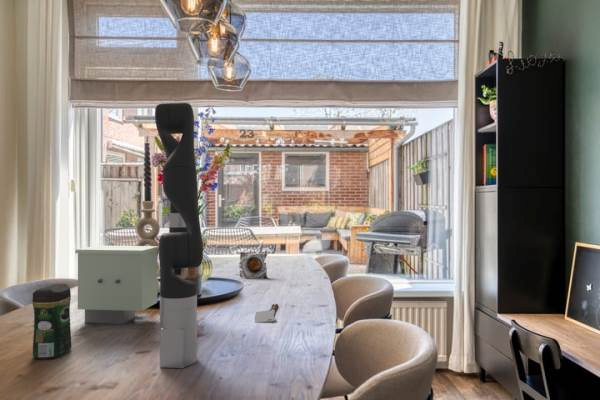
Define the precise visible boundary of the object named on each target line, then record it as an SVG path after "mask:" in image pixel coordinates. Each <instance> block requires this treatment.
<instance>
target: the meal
mask: <svg viewBox="0 0 600 400" xmlns="http://www.w3.org/2000/svg"><path fill="white" fill-rule="evenodd" d="M239 254H240V256H239V258H240V259H239V262H238V267H239V277H240V278H246V279H256V278H258V279H260V278H263V279H268V274H267V269H268V268H267V262H265V261H266V258H267V256H268V253H253V254H252V253H251V252H240V253H239Z"/></svg>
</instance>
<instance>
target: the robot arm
mask: <svg viewBox="0 0 600 400" xmlns="http://www.w3.org/2000/svg"><path fill="white" fill-rule="evenodd" d="M194 114H195V113H194V109H193V107H192V105H191V104H190V103H188V102H181V101H180V102H176V101H175V102H160V103H158V104H156V106H155V109H154V122H155V125H156V126H155V127H156V130H157V133H158V136H159V139H160V142H161V144H162V147H163V149H164V152H165V156H166V161H165V163H164V164H163V167H162V191H163V193H164V195H165V196H166V198H167V200H168V201H169V219H168V222H169V223H168V224H169V225H168V226H169V227H168V232H164V233H162V234H161V235H160V237H159V241H158V246H159V250H158V257H159V258H158V259H159V269H160V277H159V367H160V368H169V369H171V368H172V369H185V367H188V366H192V365H194V364H195V363H196V362H197V360H198V345H197V344H198V339H197V338H198V324H197V323H198V319H197V318H198V315H197V314H198V286H197V283H196V282H194V281H193V280H189V279H185V278H180V277H178V276H177V275H181V268H188V269H191V268H192V269H193V268H198V267H200V266H201V265H202V263H203V259H204V258H203V257H204V247H203V246H204V245H203V237H202V231H201V223H200V221H201V220H200V215H199V214H200V213H199V199H198V195H199V194H198V193H199V192H198V175H197V173H198V172H197V166H196V164H197V163H196V156H195V155H196V154H195V115H194ZM177 134H178V135H180V134H181V138H180V141H179V140H178V139H176V138H175V136H173V135H177ZM173 269H174V273H173Z"/></svg>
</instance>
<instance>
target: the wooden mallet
mask: <svg viewBox="0 0 600 400" xmlns="http://www.w3.org/2000/svg"><path fill="white" fill-rule="evenodd" d="M188 269H189V268H181V275H177V276H178V277H180V278H183V279H185V278H187V277H188V276H189V273H188V271H189V270H188ZM173 273H174V269H173ZM157 278H160V268H157Z"/></svg>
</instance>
